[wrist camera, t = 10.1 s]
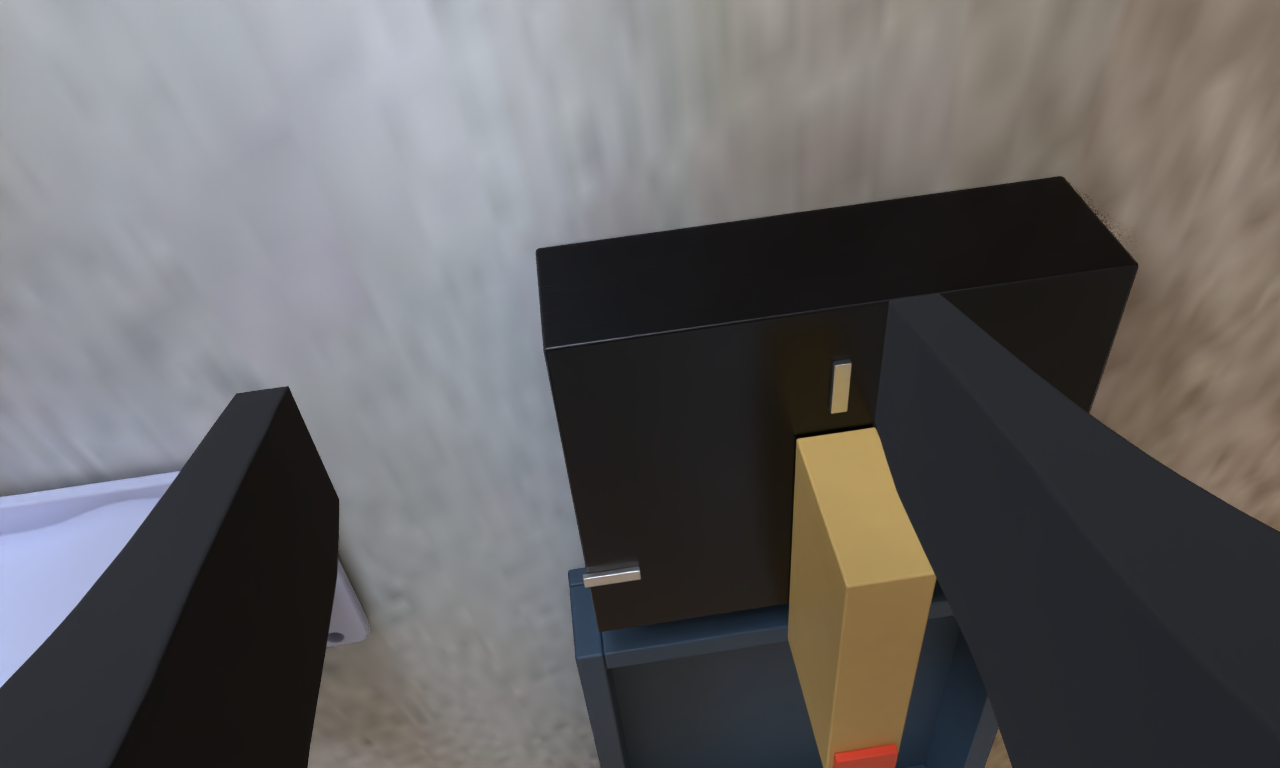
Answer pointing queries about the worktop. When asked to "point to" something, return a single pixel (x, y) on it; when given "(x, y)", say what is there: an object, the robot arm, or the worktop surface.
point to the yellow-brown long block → (855, 598)
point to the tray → (756, 692)
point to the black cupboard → (783, 366)
